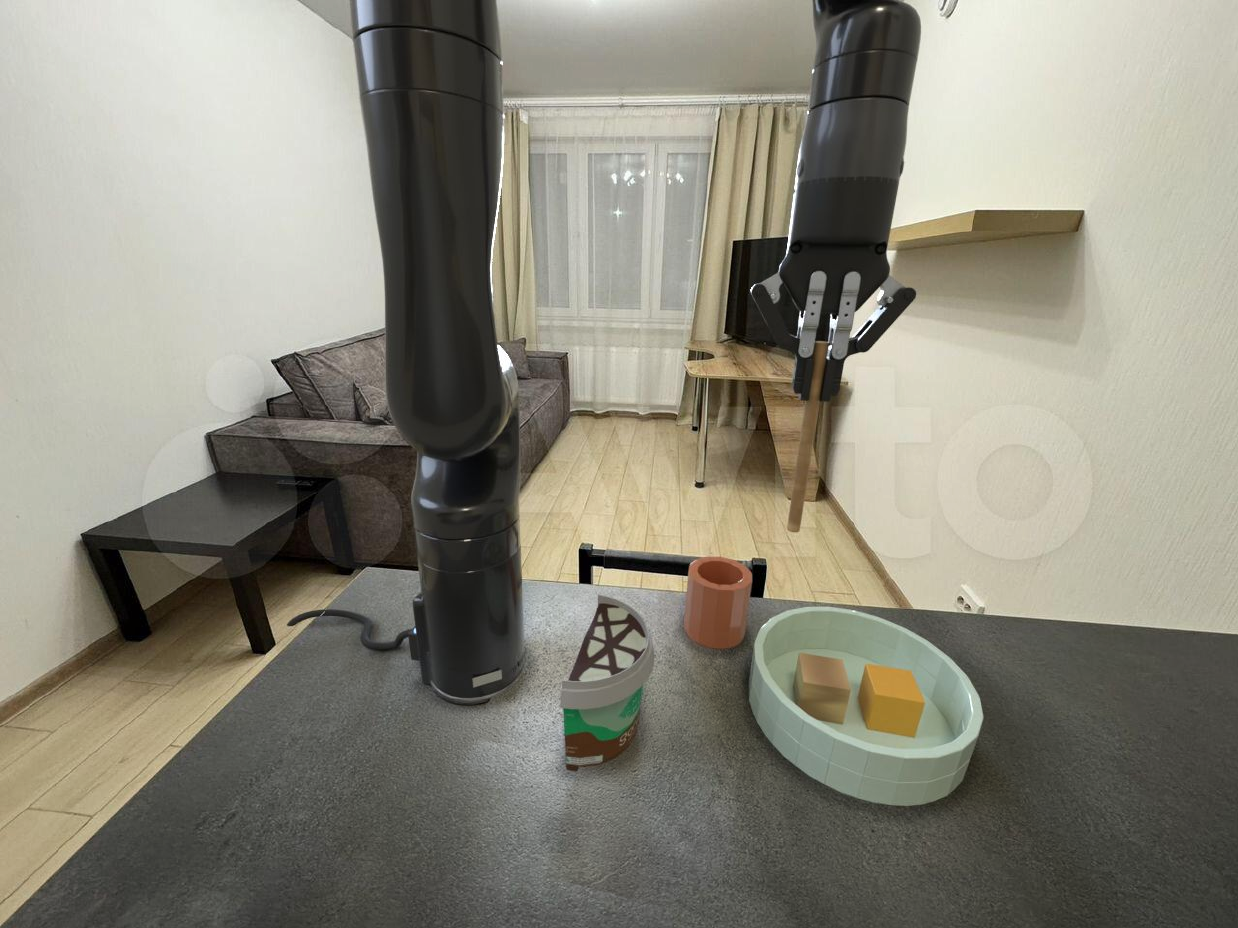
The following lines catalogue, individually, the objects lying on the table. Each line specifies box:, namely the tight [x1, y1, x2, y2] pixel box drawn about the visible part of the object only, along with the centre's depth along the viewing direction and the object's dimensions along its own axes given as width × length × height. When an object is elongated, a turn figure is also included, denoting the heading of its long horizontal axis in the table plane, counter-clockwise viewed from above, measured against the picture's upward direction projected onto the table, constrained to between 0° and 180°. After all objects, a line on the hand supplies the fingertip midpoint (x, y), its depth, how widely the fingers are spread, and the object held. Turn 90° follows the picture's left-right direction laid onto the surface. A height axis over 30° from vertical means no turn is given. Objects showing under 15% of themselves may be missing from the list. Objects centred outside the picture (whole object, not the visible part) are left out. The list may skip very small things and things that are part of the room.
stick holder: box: [683, 556, 753, 650], centre depth 58 cm, size 7×7×8 cm
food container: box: [559, 594, 656, 772], centre depth 45 cm, size 12×6×10 cm, turn 168°
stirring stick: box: [786, 340, 829, 533], centre depth 48 cm, size 1×1×18 cm
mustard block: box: [858, 664, 925, 738], centre depth 48 cm, size 4×4×4 cm
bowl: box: [748, 606, 985, 807], centre depth 48 cm, size 19×19×6 cm
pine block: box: [793, 653, 851, 725], centre depth 49 cm, size 4×4×4 cm
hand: (812, 399), depth 46 cm, fingers closed on stirring stick, 1 cm apart
